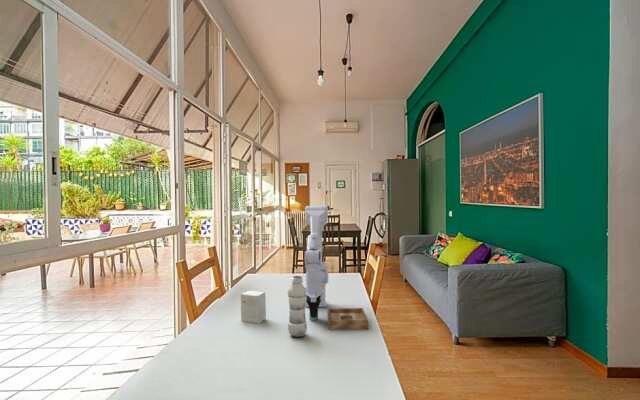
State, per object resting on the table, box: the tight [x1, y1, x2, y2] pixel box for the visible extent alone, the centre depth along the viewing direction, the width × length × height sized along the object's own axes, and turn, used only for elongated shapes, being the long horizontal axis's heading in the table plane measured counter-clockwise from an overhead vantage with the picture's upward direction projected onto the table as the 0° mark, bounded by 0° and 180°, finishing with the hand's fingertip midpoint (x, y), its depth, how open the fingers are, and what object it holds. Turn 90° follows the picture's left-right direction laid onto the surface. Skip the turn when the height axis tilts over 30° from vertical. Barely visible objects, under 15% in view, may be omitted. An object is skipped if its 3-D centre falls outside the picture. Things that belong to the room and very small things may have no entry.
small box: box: [240, 290, 267, 324], centre depth 134 cm, size 8×6×10 cm
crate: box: [327, 307, 369, 331], centre depth 131 cm, size 14×14×3 cm
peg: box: [308, 310, 319, 322], centre depth 134 cm, size 3×3×6 cm
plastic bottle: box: [287, 275, 308, 338], centre depth 118 cm, size 6×7×20 cm
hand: (313, 315), depth 134 cm, fingers closed on peg, 3 cm apart
